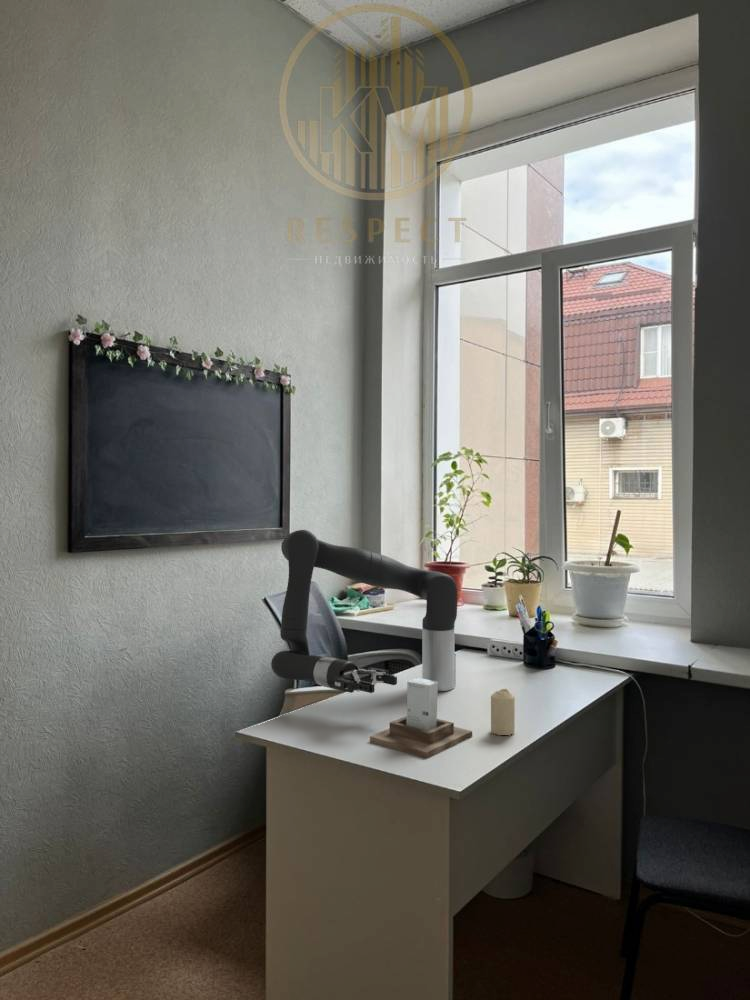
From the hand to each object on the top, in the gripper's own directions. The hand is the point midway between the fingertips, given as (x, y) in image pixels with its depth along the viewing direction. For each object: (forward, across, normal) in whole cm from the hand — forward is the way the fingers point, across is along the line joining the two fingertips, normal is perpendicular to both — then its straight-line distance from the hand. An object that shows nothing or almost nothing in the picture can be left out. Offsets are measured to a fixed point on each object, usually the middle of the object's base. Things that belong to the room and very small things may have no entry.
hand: (385, 684), depth 176 cm
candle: (+23, +16, +11) cm, 30 cm away
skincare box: (+11, 0, +10) cm, 15 cm away
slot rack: (+11, 0, +11) cm, 15 cm away
